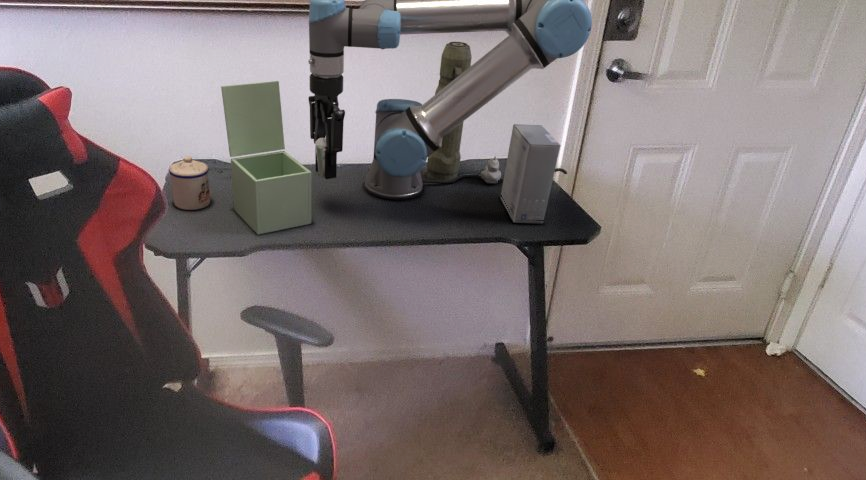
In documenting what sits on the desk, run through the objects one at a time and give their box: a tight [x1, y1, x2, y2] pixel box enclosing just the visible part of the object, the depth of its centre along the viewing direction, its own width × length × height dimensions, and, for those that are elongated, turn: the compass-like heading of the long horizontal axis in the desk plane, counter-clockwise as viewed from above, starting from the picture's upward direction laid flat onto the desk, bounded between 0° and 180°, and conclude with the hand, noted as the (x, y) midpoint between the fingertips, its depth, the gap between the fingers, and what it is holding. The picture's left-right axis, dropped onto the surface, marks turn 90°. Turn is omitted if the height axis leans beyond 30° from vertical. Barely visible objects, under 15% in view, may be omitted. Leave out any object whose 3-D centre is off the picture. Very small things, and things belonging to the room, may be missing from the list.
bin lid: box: [220, 80, 286, 158], centre depth 153 cm, size 15×14×1 cm
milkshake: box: [314, 137, 327, 179], centre depth 157 cm, size 5×5×10 cm
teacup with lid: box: [168, 155, 211, 211], centre depth 160 cm, size 12×9×12 cm
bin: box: [230, 150, 313, 235], centre depth 155 cm, size 15×14×13 cm
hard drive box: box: [499, 123, 562, 224], centre depth 163 cm, size 16×8×20 cm, turn 4°
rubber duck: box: [480, 155, 502, 185], centre depth 181 cm, size 5×7×8 cm
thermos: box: [426, 41, 473, 180], centre depth 175 cm, size 9×12×35 cm
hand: (325, 174), depth 160 cm, fingers closed on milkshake, 4 cm apart
